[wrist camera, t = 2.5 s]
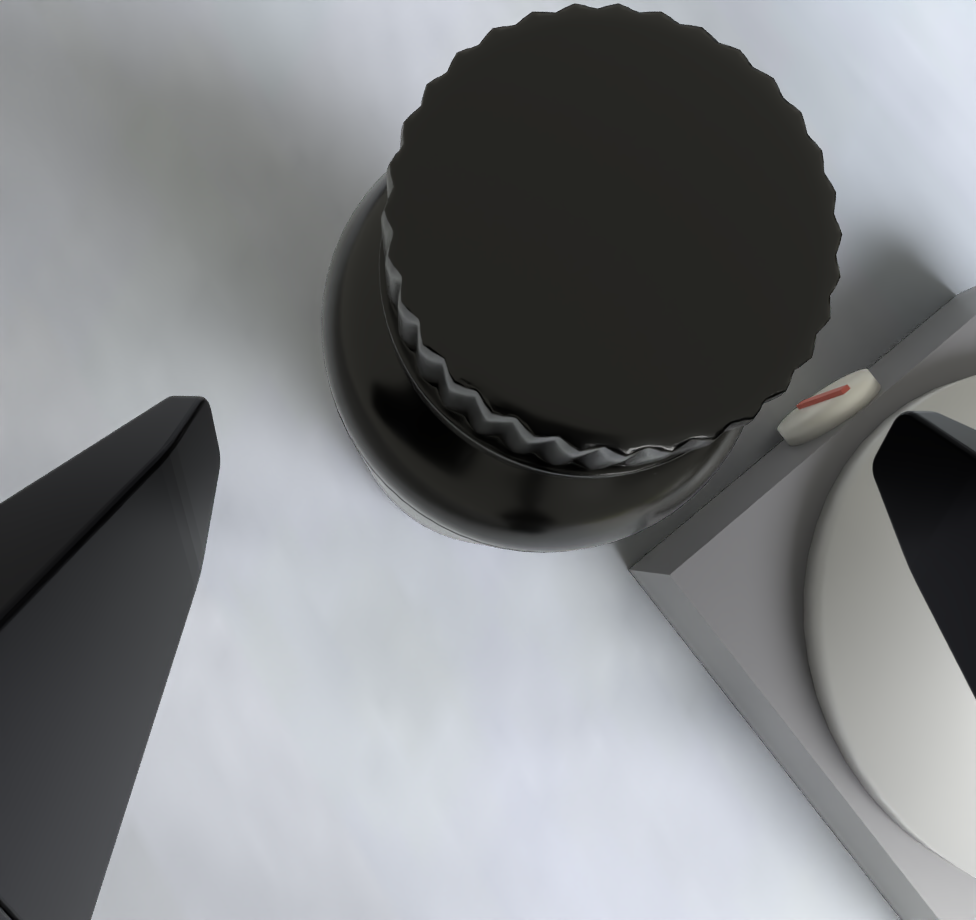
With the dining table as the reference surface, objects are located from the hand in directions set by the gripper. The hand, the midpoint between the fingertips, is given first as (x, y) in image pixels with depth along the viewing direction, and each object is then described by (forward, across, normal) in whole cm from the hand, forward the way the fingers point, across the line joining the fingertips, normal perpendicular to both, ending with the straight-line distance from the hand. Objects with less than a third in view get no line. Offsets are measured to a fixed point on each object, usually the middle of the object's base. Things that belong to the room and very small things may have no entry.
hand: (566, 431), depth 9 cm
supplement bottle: (+8, 0, +6) cm, 10 cm away
